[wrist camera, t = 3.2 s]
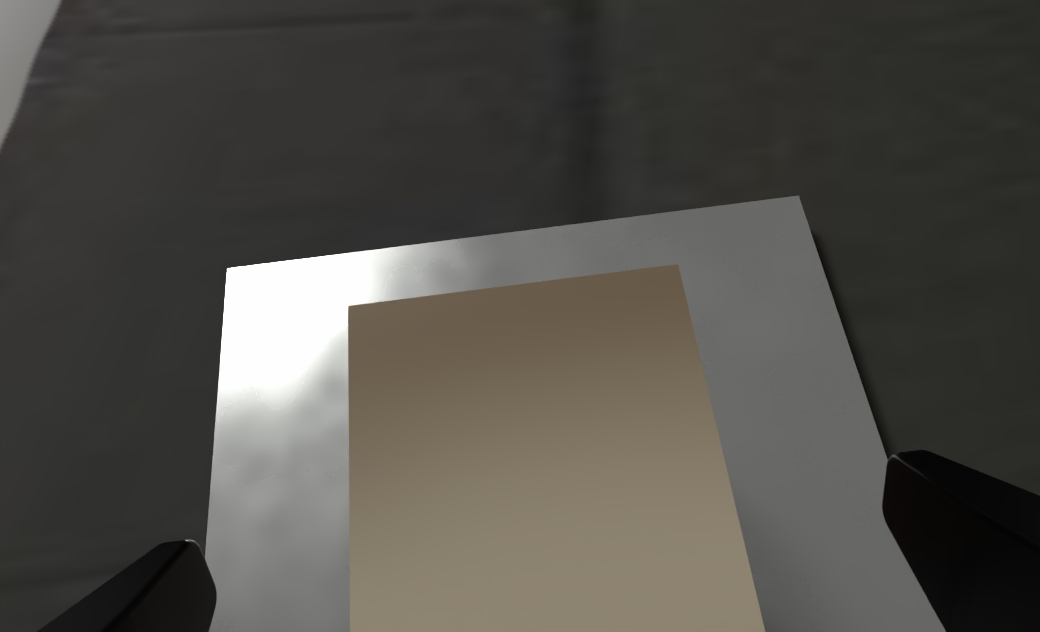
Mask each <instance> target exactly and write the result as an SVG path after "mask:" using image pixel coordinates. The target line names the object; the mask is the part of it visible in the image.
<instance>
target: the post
mask: <svg viewBox="0 0 1040 632" xmlns="http://www.w3.org/2000/svg"><path fill="white" fill-rule="evenodd" d="M348 394H349V549H350V632H765V628H764V624H763V620H762V615H761V611H760V607H759V603H758V599H757V594H756V590H755V586H754V582H753V578H752V573H751V569H750V565H749V561H748V556H747V552H746V548H745V544H744V540H743V535H742V531H741V527H740V523H739V519H738V514H737V510H736V506H735V502H734V497H733V493H732V489H731V485H730V481H729V476H728V472H727V468H726V464H725V460H724V455H723V451H722V447H721V443H720V438H719V434H718V430H717V426H716V422H715V417H714V413H713V409H712V405H711V401H710V396H709V392H708V388H707V384H706V379H705V375H704V371H703V367H702V363H701V358H700V354H699V350H698V346H697V342H696V337H695V333H694V329H693V325H692V321H691V316H690V312H689V308H688V304H687V299H686V295H685V291H684V287H683V283H682V278H681V274H680V270H679V266H678V264H675V265H667V266H659V267H651V268H643V269H635V270H627V271H620V272H612V273H604V274H596V275H588V276H580V277H572V278H564V279H556V280H549V281H541V282H533V283H525V284H517V285H509V286H501V287H493V288H485V289H478V290H470V291H462V292H454V293H446V294H438V295H430V296H422V297H414V298H407V299H399V300H391V301H383V302H375V303H367V304H359V305H351V306H348Z"/></svg>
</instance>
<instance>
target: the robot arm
mask: <svg viewBox="0 0 1040 632" xmlns="http://www.w3.org/2000/svg"><path fill="white" fill-rule="evenodd" d="M882 511H883V516H884V519H885V522H886V524H887V526H888V528H889V530H890V532H891V534H892V535H893V537H894V539H895V541H896V543H897V544H898V546H899V548H900V550H901V552H902V554H903V555H904V557H905V559H906V561H907V563H908V564H909V566H910V568H911V570H912V572H913V573H914V575H915V577H916V579H917V581H918V583H919V584H920V586H921V588H922V590H923V592H924V593H925V595H926V597H927V599H928V601H929V603H930V604H931V606H932V608H933V610H934V612H935V613H936V615H937V617H938V619H939V620H940V622H941V624H942V625H943V627H944V629H945V631H946V632H1040V496H1039V495H1037V494H1034V493H1032V492H1029V491H1027V490H1024V489H1022V488H1019V487H1017V486H1014V485H1012V484H1009V483H1007V482H1004V481H1002V480H999V479H997V478H994V477H992V476H989V475H987V474H984V473H982V472H979V471H977V470H974V469H972V468H969V467H967V466H964V465H962V464H959V463H957V462H954V461H952V460H949V459H947V458H944V457H942V456H939V455H937V454H934V453H932V452H929V451H926V450H915V451H907V452H899V453H894V454H893V455H891V456H890V457H889V459H888V461H887V466H886V474H885V483H884V491H883V500H882ZM216 601H217V591H216V586H215V583H214V580H213V578H212V575H211V573H210V570H209V568H208V565H207V563H206V560H205V558H204V555H203V553H202V550H201V548H200V546H199V544H198V543H197V542H195V541H193V540H181V541H173V542H166V543H162V544H159V545H158V546H156V547H155V548H153V549H152V550H151V551H149V552H148V553H146V554H145V555H144V556H142V557H141V558H139V559H138V560H137V561H135V562H134V563H132V564H131V565H130V566H128V567H127V568H125V569H124V570H123V571H121V572H120V573H118V574H117V575H116V576H114V577H113V578H111V579H110V580H109V581H107V582H106V583H104V584H103V585H102V586H100V587H99V588H97V589H96V590H94V591H93V592H92V593H90V594H89V595H87V596H86V597H85V598H83V599H82V600H80V601H79V602H78V603H76V604H75V605H73V606H72V607H71V608H69V609H68V610H66V611H65V612H64V613H62V614H61V615H59V616H58V617H57V618H55V619H54V620H52V621H51V622H50V623H48V624H47V625H45V626H44V627H43V628H41V629H40V630H38V631H37V632H209V630H210V626H211V622H212V619H213V615H214V611H215V607H216Z"/></svg>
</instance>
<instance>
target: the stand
mask: <svg viewBox="0 0 1040 632" xmlns="http://www.w3.org/2000/svg"><path fill="white" fill-rule="evenodd" d="M675 264H678V266H679V270H680V274H681V278H682V283H683V287H684V291H685V295H686V299H687V304H688V308H689V312H690V316H691V321H692V325H693V329H694V333H695V337H696V342H697V346H698V350H699V354H700V358H701V363H702V367H703V371H704V375H705V379H706V384H707V388H708V392H709V396H710V401H711V405H712V409H713V413H714V417H715V422H716V426H717V430H718V434H719V438H720V443H721V447H722V451H723V455H724V460H725V464H726V468H727V472H728V476H729V481H730V485H731V489H732V493H733V497H734V502H735V506H736V510H737V514H738V519H739V523H740V527H741V531H742V535H743V540H744V544H745V548H746V552H747V556H748V561H749V565H750V569H751V573H752V578H753V582H754V586H755V590H756V594H757V599H758V603H759V607H760V611H761V615H762V620H763V624H764V628H765V632H946V631H945V629H944V627H943V625H942V624H941V622H940V620H939V619H938V617H937V615H936V613H935V612H934V610H933V608H932V606H931V604H930V603H929V601H928V599H927V597H926V595H925V593H924V592H923V590H922V588H921V586H920V584H919V583H918V581H917V579H916V577H915V575H914V573H913V572H912V570H911V568H910V566H909V564H908V563H907V561H906V559H905V557H904V555H903V554H902V552H901V550H900V548H899V546H898V544H897V543H896V541H895V539H894V537H893V535H892V534H891V532H890V530H889V528H888V526H887V524H886V522H885V519H884V516H883V511H882V500H883V491H884V483H885V474H886V466H887V461H888V459H887V456H886V454H885V451H884V448H883V445H882V442H881V439H880V436H879V433H878V430H877V427H876V424H875V421H874V418H873V415H872V412H871V409H870V406H869V403H868V400H867V397H866V394H865V391H864V388H863V385H862V382H861V379H860V376H859V374H858V371H857V368H856V365H855V362H854V359H853V356H852V353H851V350H850V347H849V344H848V341H847V338H846V335H845V332H844V329H843V326H842V323H841V320H840V317H839V314H838V311H837V308H836V305H835V302H834V299H833V297H832V294H831V291H830V288H829V285H828V282H827V279H826V276H825V273H824V270H823V267H822V264H821V261H820V258H819V255H818V252H817V249H816V246H815V243H814V240H813V237H812V234H811V231H810V228H809V225H808V222H807V219H806V217H805V214H804V211H803V208H802V205H801V202H800V199H799V196H792V197H785V198H777V199H769V200H761V201H753V202H745V203H738V204H730V205H722V206H714V207H706V208H698V209H691V210H683V211H675V212H667V213H659V214H651V215H643V216H636V217H628V218H620V219H612V220H604V221H596V222H589V223H581V224H573V225H565V226H557V227H549V228H542V229H534V230H526V231H518V232H510V233H502V234H494V235H487V236H479V237H471V238H463V239H455V240H447V241H440V242H432V243H424V244H416V245H408V246H400V247H393V248H385V249H377V250H369V251H361V252H353V253H346V254H338V255H330V256H322V257H314V258H306V259H298V260H291V261H283V262H275V263H267V264H259V265H251V266H244V267H236V268H228V269H227V281H226V294H225V307H224V320H223V333H222V346H221V359H220V372H219V385H218V398H217V411H216V423H215V436H214V449H213V462H212V475H211V488H210V501H209V514H208V527H207V540H206V553H205V560H206V563H207V565H208V568H209V570H210V573H211V575H212V578H213V580H214V583H215V586H216V591H217V601H216V607H215V611H214V615H213V619H212V622H211V626H210V630H209V632H350V549H349V394H348V306H351V305H359V304H367V303H375V302H383V301H391V300H399V299H407V298H414V297H422V296H430V295H438V294H446V293H454V292H462V291H470V290H478V289H485V288H493V287H501V286H509V285H517V284H525V283H533V282H541V281H549V280H556V279H564V278H572V277H580V276H588V275H596V274H604V273H612V272H620V271H627V270H635V269H643V268H651V267H659V266H667V265H675Z"/></svg>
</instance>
